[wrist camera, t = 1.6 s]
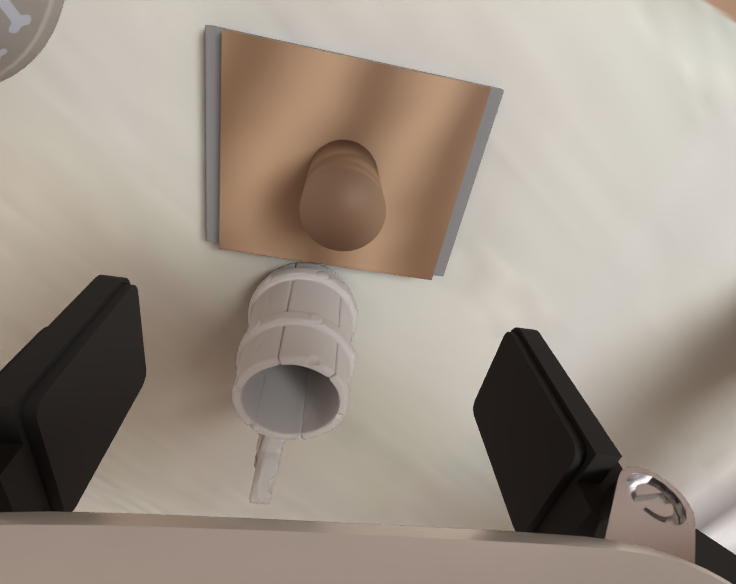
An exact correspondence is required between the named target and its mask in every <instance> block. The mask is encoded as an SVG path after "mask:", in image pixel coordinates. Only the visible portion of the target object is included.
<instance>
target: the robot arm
mask: <svg viewBox="0 0 736 584" xmlns="http://www.w3.org/2000/svg"><path fill="white" fill-rule="evenodd" d="M145 377H146V364H145V355H144V345H143V336H142V326H141V316H140V307H139V297H138V289H137V287H136V286H135V285H130V282H129V280H128V279H127V278H122V277H114V276H107V275H99V276H97V277H96V278H95V279H94V280H93V281H92V282H91V283H90V284H89V285H88V286H87V287H86V288H85V289H84V290H83V291H82V292H81V293H80V294H79V295H78V296H77V297H76V298H75V299H74V300H73V301H72V302H71V303H70V304H69V305H68V306H67V307H66V308H65V309H64V310H63V311H62V312H61V314H60V315H59V316H58V317H57V318H56V319H55V320H54V321H53V322H52V323H51V324H50V325H49V326H48V327H45V328H44V329H42V330H41V331H40V332H39V333H38V334H37V335H36V336H35V337H34V338H33V339H32V340H31V341H30V342H29V343H28V344H27V345H26V346H25V347H24V348H23V349H22V350H21V351H20V352H19V353H18V354H17V355H16V356H15V357H14V358H13V359H12V360H11V361H10V362H9V363H8V364H7V365H6V366H5V367H4V368H3V369H2V370H1V371H0V584H736V555H735V554H733V553H732V552H730V551H729V550H727V549H726V548H724V547H723V546H721V545H720V544H718V543H717V542H715V541H714V540H712V539H711V538H709V537H708V536H706V535H705V534H703V533H702V532H700V531H699V530H697V529H696V528H695V517H694V512H693V510H692V509H691V507H690V505H689V503H688V502H687V500H686V499H685V498H684V497H683V495H682V494H681V493H680V492H679V491H678V490H677V489H676V488H675V487H674V486H673V485H671V484H670V483H669V482H668V481H666V480H665V479H663V478H662V477H660V476H659V475H657V474H655V473H653V472H651V471H649V470H646V469H642V468H639V467H627V468H625V469H622V467H621V466H620V464H619V463H618V461H619V459H620V458H621V457H622V456H621V454H620V453H619V451H618V450H617V448H616V447H615V445H614V444H613V442H612V441H611V439H610V438H609V436H608V435H607V433H606V432H605V430H604V429H603V427H602V426H601V424H600V423H599V421H598V420H597V418H596V417H595V415H594V414H593V412H592V411H591V409H590V408H589V406H588V405H587V403H586V402H585V400H584V399H583V397H582V396H581V394H580V393H579V391H578V390H577V388H576V387H575V385H574V384H573V382H572V381H571V379H570V378H569V376H568V375H567V373H566V372H565V370H564V369H563V367H562V366H561V364H560V363H559V361H558V360H557V358H556V357H555V355H554V354H553V353H552V351H551V350H550V348H549V347H548V345H547V344H546V342H545V341H544V339H543V338H542V336H541V335H540V333H539V332H538V331H537V330H532V329H524V328H517V327H516V328H514V329H512V330H511V332H507V333H506V334H505V335H504V337H503V339H502V341H501V344H500V346H499V348H498V350H497V353H496V355H495V357H494V359H493V361H492V364H491V366H490V368H489V370H488V373H487V375H486V377H485V379H484V381H483V384H482V386H481V388H480V390H479V393H478V395H477V397H476V399H475V402H474V406H473V413H474V417H475V420H476V423H477V425H478V428H479V431H480V434H481V437H482V439H483V442H484V445H485V448H486V451H487V454H488V456H489V459H490V462H491V465H492V468H493V471H494V473H495V476H496V479H497V482H498V485H499V487H500V490H501V493H502V496H503V499H504V502H505V504H506V507H507V510H508V513H509V516H510V518H511V521H512V524H513V527H514V529H515V531H516V532H514V531H495V530H476V529H458V528H439V527H421V526H401V525H381V524H360V523H340V522H318V521H297V520H276V519H253V518H230V517H206V516H183V515H159V514H132V513H94V512H72V511H73V510H74V509H75V507H76V506H77V504H78V502H79V500H80V498H81V497H82V495H83V493H84V491H85V489H86V487H87V486H88V484H89V482H90V480H91V478H92V477H93V475H94V473H95V471H96V469H97V468H98V466H99V464H100V462H101V460H102V458H103V457H104V455H105V453H106V451H107V449H108V448H109V446H110V444H111V442H112V440H113V438H114V437H115V435H116V433H117V431H118V429H119V428H120V426H121V424H122V422H123V420H124V418H125V417H126V415H127V413H128V411H129V409H130V408H131V406H132V404H133V402H134V400H135V398H136V397H137V395H138V393H139V391H140V389H141V388H142V386H143V384H144V381H145Z"/></svg>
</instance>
